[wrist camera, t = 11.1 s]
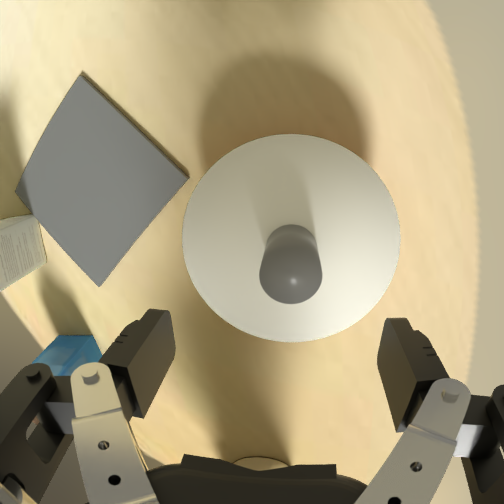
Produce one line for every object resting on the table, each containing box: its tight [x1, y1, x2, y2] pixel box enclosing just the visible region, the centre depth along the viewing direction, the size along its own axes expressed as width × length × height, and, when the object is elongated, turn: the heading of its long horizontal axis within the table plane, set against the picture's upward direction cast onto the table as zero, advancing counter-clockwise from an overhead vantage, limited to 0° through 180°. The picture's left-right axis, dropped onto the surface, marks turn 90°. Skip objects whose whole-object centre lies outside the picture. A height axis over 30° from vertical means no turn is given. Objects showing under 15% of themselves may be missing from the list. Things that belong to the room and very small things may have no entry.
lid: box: [182, 134, 401, 342], centre depth 19 cm, size 14×14×6 cm
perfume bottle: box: [32, 335, 102, 425], centre depth 30 cm, size 6×6×12 cm
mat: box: [15, 76, 189, 287], centre depth 27 cm, size 15×15×1 cm
